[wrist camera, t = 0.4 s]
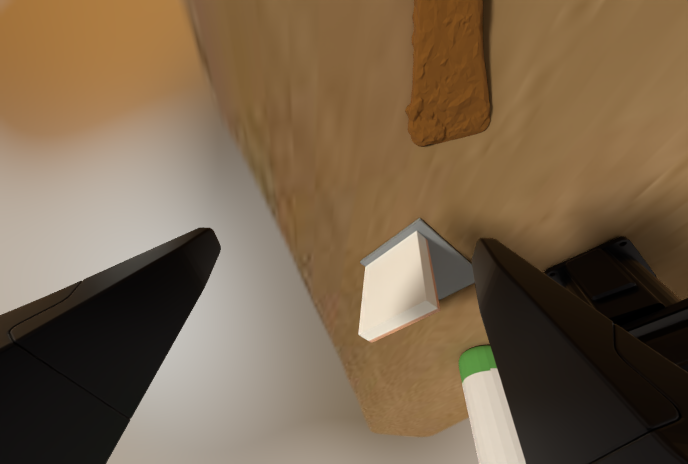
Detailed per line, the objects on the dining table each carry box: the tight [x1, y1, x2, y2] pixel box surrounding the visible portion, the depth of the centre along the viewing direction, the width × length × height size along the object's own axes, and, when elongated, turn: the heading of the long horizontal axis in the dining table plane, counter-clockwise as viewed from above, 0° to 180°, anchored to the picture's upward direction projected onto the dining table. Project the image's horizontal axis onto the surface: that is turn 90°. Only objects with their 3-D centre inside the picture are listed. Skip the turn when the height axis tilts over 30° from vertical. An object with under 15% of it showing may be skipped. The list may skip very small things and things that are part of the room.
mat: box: [360, 218, 475, 300], centre depth 27 cm, size 10×8×1 cm
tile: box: [358, 231, 441, 343], centre depth 23 cm, size 2×7×8 cm, turn 140°
